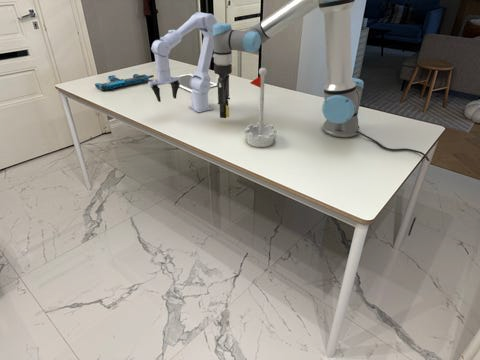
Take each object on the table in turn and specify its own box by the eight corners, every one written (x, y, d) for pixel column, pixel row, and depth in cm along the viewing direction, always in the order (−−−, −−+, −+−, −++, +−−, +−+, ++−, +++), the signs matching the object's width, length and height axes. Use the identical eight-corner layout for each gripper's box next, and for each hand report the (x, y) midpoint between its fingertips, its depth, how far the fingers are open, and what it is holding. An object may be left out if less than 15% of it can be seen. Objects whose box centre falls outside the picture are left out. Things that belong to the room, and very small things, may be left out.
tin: (218, 117, 155) (218, 108, 152) (221, 113, 158) (221, 104, 156) (227, 118, 154) (227, 108, 151) (230, 114, 157) (230, 105, 155)
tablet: (162, 79, 213) (162, 79, 213) (189, 73, 224) (189, 73, 224) (191, 92, 193) (191, 91, 192) (219, 85, 204) (219, 84, 203)
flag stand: (267, 132, 148) (271, 61, 132) (281, 144, 138) (286, 70, 122) (240, 137, 144) (240, 65, 128) (252, 150, 134) (253, 74, 118)
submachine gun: (139, 68, 225) (158, 74, 208) (140, 74, 226) (158, 80, 210) (87, 78, 206) (103, 86, 189) (89, 84, 208) (104, 92, 191)
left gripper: (150, 74, 143) (155, 105, 150) (182, 69, 150) (185, 99, 157) (144, 70, 148) (149, 100, 155) (175, 65, 155) (178, 94, 162)
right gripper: (218, 58, 151) (220, 108, 163) (209, 68, 136) (211, 122, 149) (235, 58, 150) (235, 109, 162) (227, 69, 135) (228, 123, 148)
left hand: (167, 99), depth 156 cm, fingers open, 7 cm apart
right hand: (224, 115), depth 156 cm, fingers closed on tin, 4 cm apart
